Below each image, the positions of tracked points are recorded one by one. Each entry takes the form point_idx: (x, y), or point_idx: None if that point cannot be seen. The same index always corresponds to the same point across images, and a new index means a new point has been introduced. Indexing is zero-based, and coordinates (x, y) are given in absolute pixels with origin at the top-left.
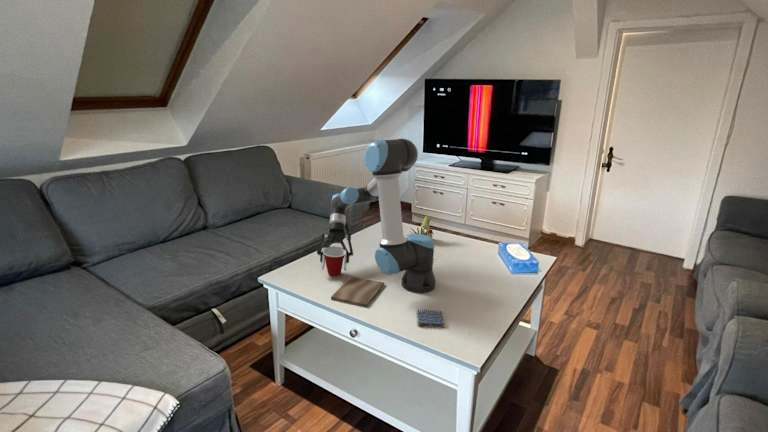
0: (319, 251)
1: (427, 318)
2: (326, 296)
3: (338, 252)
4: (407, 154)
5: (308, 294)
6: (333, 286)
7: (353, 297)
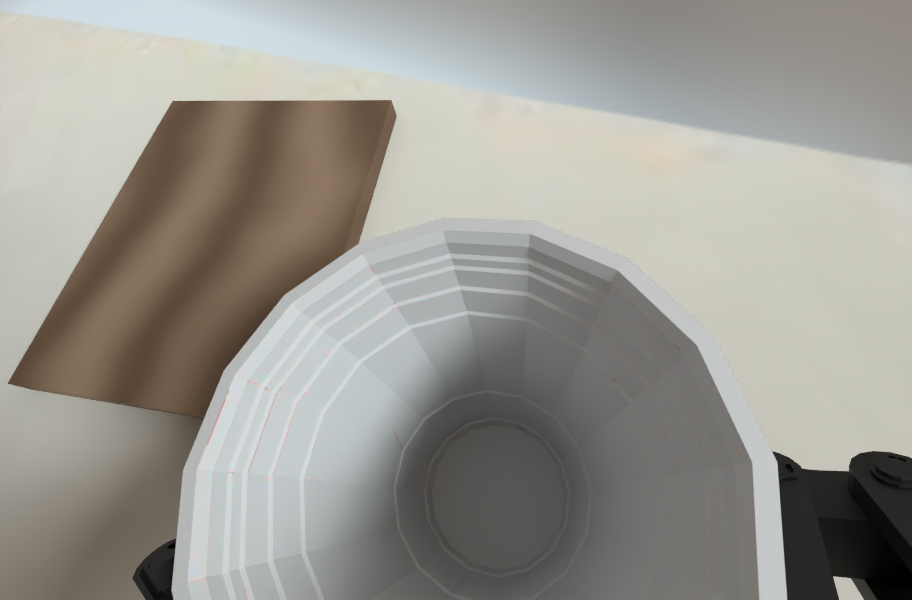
0: (865, 487)
1: None
2: (436, 133)
3: None
4: None
5: (567, 117)
6: None
7: (248, 134)
